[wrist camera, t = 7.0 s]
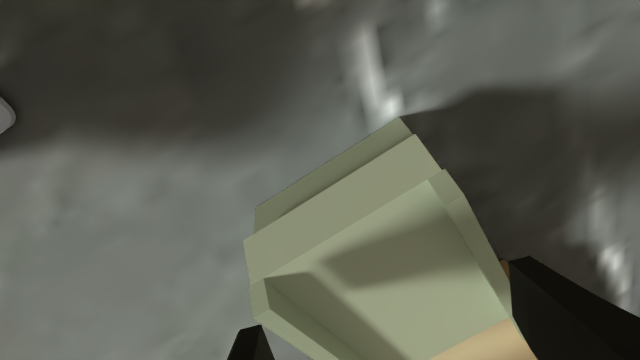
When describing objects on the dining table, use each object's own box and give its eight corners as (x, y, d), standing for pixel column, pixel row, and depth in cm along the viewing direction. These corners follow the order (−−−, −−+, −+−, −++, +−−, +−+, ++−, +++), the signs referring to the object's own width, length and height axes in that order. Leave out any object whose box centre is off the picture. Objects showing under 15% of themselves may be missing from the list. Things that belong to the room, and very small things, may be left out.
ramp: (245, 199, 20) (234, 299, 14) (394, 104, 18) (449, 169, 13) (374, 353, 24) (407, 477, 18) (501, 284, 23) (578, 393, 17)
